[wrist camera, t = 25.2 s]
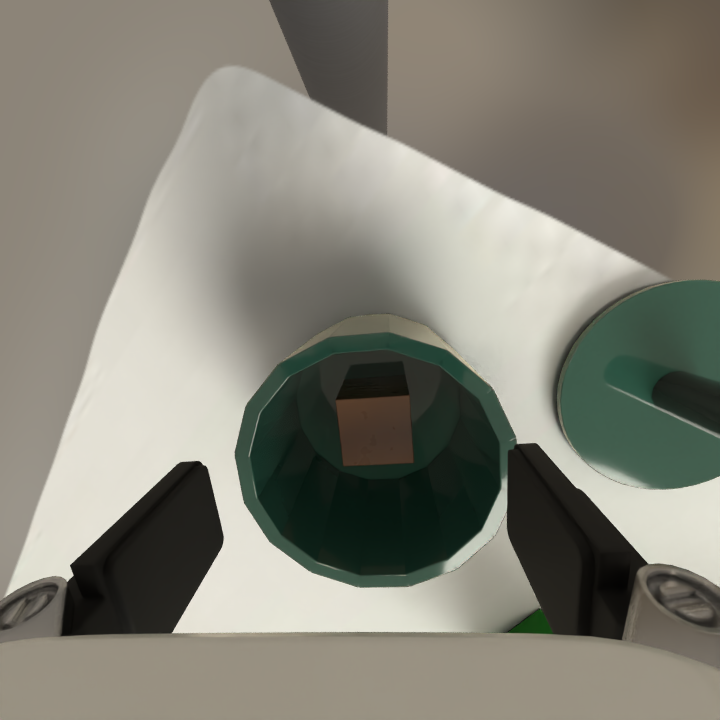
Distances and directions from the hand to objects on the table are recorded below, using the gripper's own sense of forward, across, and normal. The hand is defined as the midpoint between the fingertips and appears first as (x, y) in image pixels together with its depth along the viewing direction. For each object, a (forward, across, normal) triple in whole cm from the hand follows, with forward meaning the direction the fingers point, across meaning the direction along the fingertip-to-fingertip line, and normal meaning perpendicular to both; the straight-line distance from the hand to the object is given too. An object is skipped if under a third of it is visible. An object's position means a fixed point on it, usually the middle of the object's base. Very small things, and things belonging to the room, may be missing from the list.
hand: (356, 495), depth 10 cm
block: (+15, 0, +3) cm, 15 cm away
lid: (+14, -20, +3) cm, 25 cm away
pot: (+15, 0, +3) cm, 15 cm away
